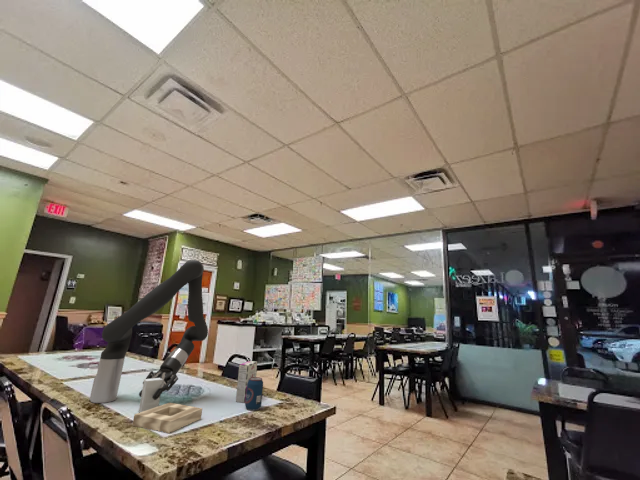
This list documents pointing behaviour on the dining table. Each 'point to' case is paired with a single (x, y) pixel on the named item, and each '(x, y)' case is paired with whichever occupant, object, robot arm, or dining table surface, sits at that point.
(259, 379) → the soda can
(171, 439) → the dining table surface
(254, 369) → the candy bar box
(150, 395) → the skincare box
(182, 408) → the socket block
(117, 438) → the dining table surface
